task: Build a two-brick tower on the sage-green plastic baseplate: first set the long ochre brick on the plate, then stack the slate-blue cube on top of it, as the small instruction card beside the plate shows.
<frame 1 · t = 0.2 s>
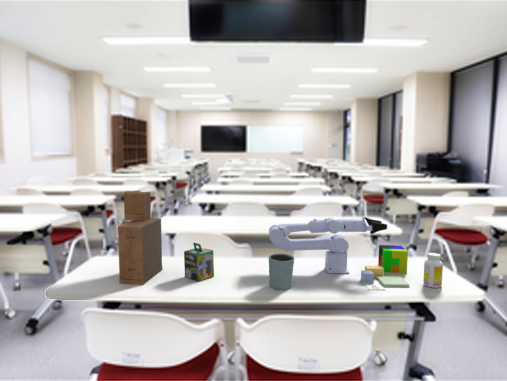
hand: (384, 225, 164), 21 cm above the table, tool horizontal, fingers open, 7 cm apart
puzzle toy: (392, 269, 170), on the table
baseplate: (392, 282, 153), on the table
brown stacked boxes: (141, 276, 159), on the table
instruction page: (374, 287, 147), on the table
blue cube: (367, 281, 154), on the table
multicoloured upright box: (199, 277, 158), on the table
green cup: (280, 287, 147), on the table
supplement bottle: (432, 285, 150), on the table
ochre brick: (373, 276, 161), on the table
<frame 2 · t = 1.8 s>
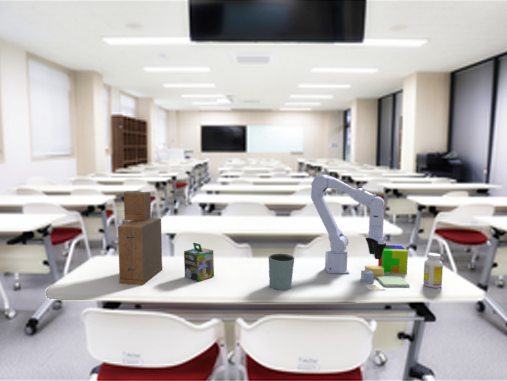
hand: (374, 256, 160), 9 cm above the table, tool pointing down, fingers open, 7 cm apart
nothing on the table moved.
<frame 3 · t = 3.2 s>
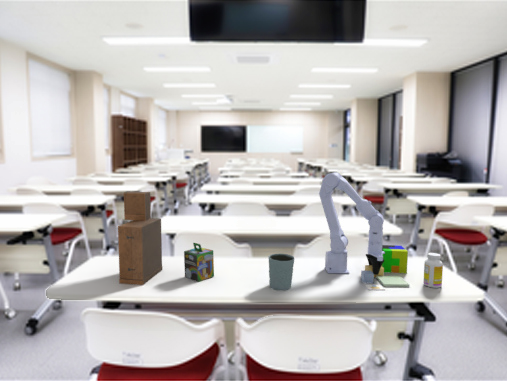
hand: (374, 272, 161), 1 cm above the table, tool pointing down, fingers closed on ochre brick, 4 cm apart
ochre brick: (373, 275, 161), on the table, touching gripper
everything else where it was.
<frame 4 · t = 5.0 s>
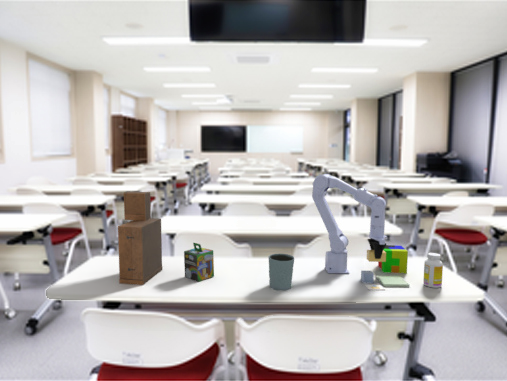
hand: (376, 257, 159), 8 cm above the table, tool pointing down, fingers closed on ochre brick, 4 cm apart
ochre brick: (376, 260, 160), point 7 cm above the table, touching gripper
everything else where it was.
when the fingers open (3 cm above the table, at t = 7.0 s): ochre brick stays where it is, resting on baseplate.
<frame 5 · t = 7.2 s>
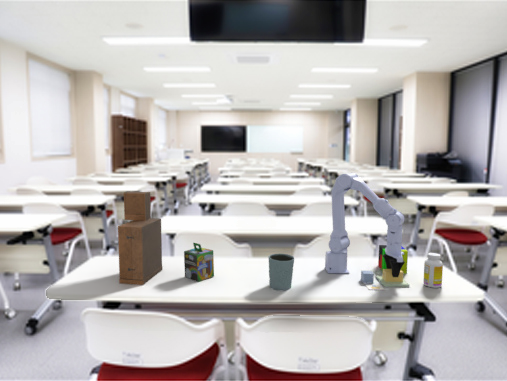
hand: (392, 274, 153), 3 cm above the table, tool pointing down, fingers open, 6 cm apart
ochre brick: (392, 279, 153), point 1 cm above the table, touching baseplate
everything else where it was.
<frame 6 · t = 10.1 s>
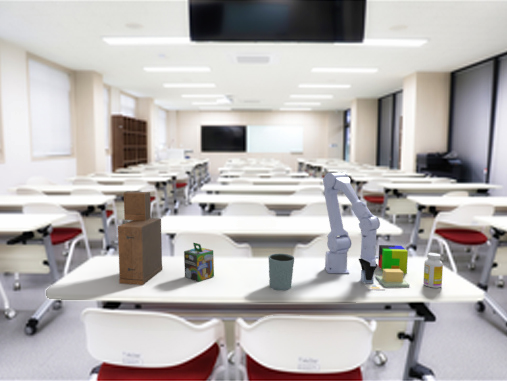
hand: (367, 277, 154), 1 cm above the table, tool pointing down, fingers closed on blue cube, 4 cm apart
blue cube: (367, 281, 154), on the table, touching gripper
everything else where it was.
when the fingers open (8 cm above the table, at t = 13.3 s): blue cube drops 1 cm, resting on ochre brick.
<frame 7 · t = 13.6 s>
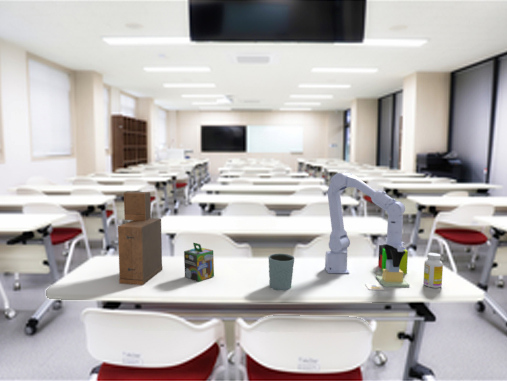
hand: (393, 264, 152), 8 cm above the table, tool pointing down, fingers open, 6 cm apart
blue cube: (392, 270, 152), point 5 cm above the table, touching ochre brick
ochre brick: (392, 280, 153), point 1 cm above the table, touching baseplate, blue cube
everything else where it was.
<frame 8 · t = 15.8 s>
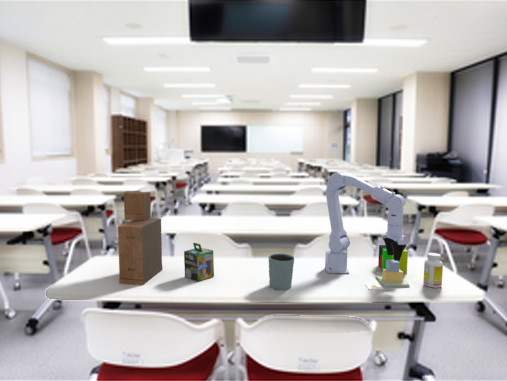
hand: (393, 257, 152), 10 cm above the table, tool pointing down, fingers open, 7 cm apart
nothing on the table moved.
at the end: ochre brick 0.1 cm off-centre on the baseplate, point 1.0 cm above the baseplate's base; blue cube 0.2 cm off-centre on the ochre brick, point 4.0 cm above the ochre brick's base; blue cube tilted 0° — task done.
